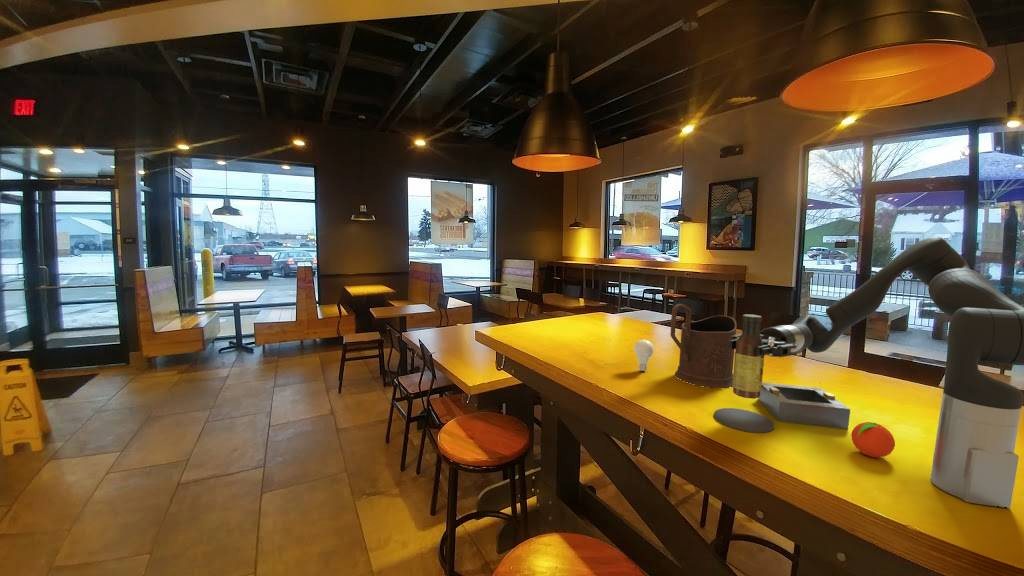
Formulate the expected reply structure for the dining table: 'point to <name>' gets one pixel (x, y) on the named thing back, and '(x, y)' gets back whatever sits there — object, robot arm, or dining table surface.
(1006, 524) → the dining table surface
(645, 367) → the lightbulb
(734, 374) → the sauce bottle
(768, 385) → the square ashtray
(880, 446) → the red tomato
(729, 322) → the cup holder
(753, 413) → the coaster
